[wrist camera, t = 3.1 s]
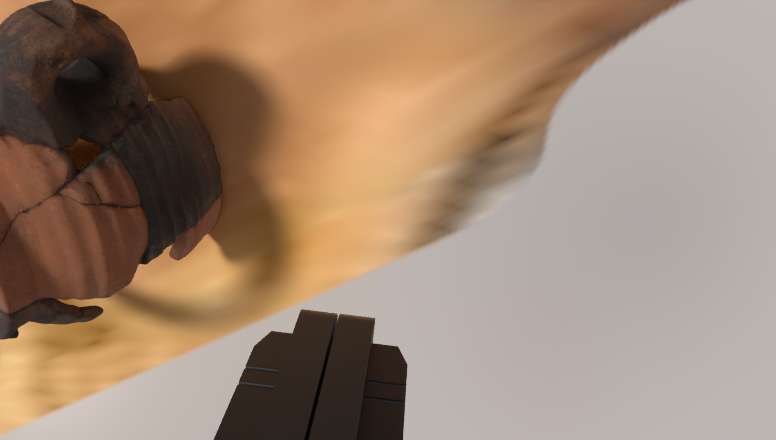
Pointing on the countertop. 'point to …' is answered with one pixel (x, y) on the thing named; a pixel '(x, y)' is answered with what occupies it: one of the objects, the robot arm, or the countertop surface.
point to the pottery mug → (89, 166)
